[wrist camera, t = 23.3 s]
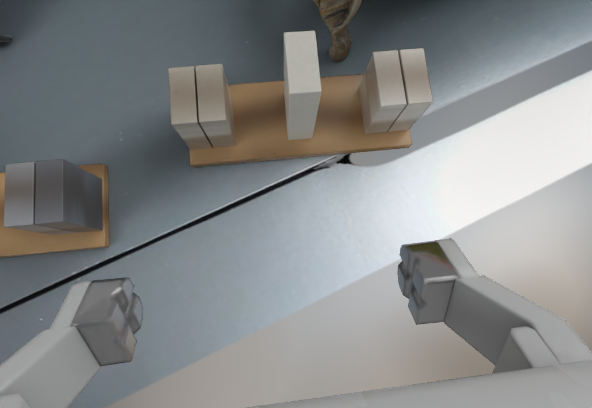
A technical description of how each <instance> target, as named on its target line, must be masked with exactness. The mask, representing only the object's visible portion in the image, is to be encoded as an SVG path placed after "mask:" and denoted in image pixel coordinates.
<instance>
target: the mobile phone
mask: <svg viewBox="0 0 592 408" xmlns="http://www.w3.org/2000/svg"><path fill="white" fill-rule="evenodd" d="M0 42H12V37H11V36H8V35H0Z"/></svg>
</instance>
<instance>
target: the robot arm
mask: <svg viewBox="0 0 592 408" xmlns="http://www.w3.org/2000/svg"><path fill="white" fill-rule="evenodd" d="M400 256H401V258H402V262H401V263H400V264H399V265H398V282H399V286H400V289H401V291H402V294H403V295H404V296H405V297H407V298H408V299H409V304H408V307H409V310H410V312H411V314H412V316H413V318H414V321H415V323H416V325H417V324H427V323H437V322H444V323H445V324H446V325H447V326H448V327H449V328H451V329H452V330H453V331H455V333H457V334H458V335H459V336H460V337H462V338H463V339H464V340H465V341H466V342H468V343H469V344H470V345H471V346H472V347H474V348H475V349H476V350H477V351H479V352H480V353H481V354H482V355H483V356H484V357H486V358H487V359H488V360H489V361H490V362H492V363H493V364H494V365H495V368H494V371H493V373H492V374H486V375H479V376H471V377H465V378H457V379H450V380H443V381H436V382H428V383H420V384H413V385H406V386H399V387H392V388H384V389H377V390H370V391H363V392H356V393H348V394H341V395H334V396H327V397H320V398H313V399H305V400H299V401H291V402H284V403H276V404H269V405H262V406H255V407H247V408H592V351H591V350H590V349H589V348H588V346H587V345H586V344H585V343H584V342H583V341H582V339H581V338H580V337H579V336H578V334H577V333H576V332H575V331H574V330H573V328H572V327H571V326H570V325H569V324H568V323H567V321H566V320H564V319H563V318H561V317H559V316H557V315H555V314H553V313H552V312H550V311H548V310H546V309H544V308H542V307H541V306H539V305H537V304H535V303H533V302H531V301H530V300H528V299H526V298H524V297H522V296H520V295H518V294H517V293H515V292H513V291H511V290H509V289H507V288H506V287H504V286H502V285H500V284H498V283H497V282H495V281H493V280H491V279H489V278H487V277H486V276H479V275H478V274H477V273H476V271H475V270H474V268H473V267H472V265H471V264H470V263H469V261H468V260H467V258H466V257H465V256H464V254H463V253H462V252H461V250H460V248H459V247H458V245H457V244H456V243H455V241H454V240H452V239H451V238H450V239H443V240H435V241H428V242H420V243H412V244H405V245H402V246H401V249H400ZM133 289H134V284H133V282H132V280H131V278H127V277H126V278H116V279H105V280H95V281H88V282H77V283H75V284H73V285H72V286H71V287H70V289H69V291H68V293H67V295H66V297H65V299H64V301H63V303H62V305H61V307H60V309H59V311H58V313H57V315H56V317H55V319H54V321H53V323H52V325H51V326H50V328H49V329H47V330H43V331H42V332H40V333H39V334H38V335H37V336H35V337H34V338H33V339H32V340H30V341H29V342H28V343H27V344H25V345H24V346H23V347H22V348H21V349H19V350H18V351H17V352H16V353H14V354H13V355H12V356H11V357H9V358H8V359H7V360H6V361H4V362H3V363H2V364H1V365H0V408H68V407H69V406H70V405H71V403H72V402H73V401H74V400H75V399H76V397H77V396H78V395H79V394H80V393H81V391H82V390H83V389H84V388H85V387H86V385H87V384H88V383H89V382H90V381H91V379H92V378H93V377H94V376H95V375H96V373H97V372H98V371H99V370H100V369H101V367H100V366H106V365H112V364H118V363H125V362H131V361H132V357H133V354H134V350H135V346H136V343H137V340H136V338H135V336H134V334H135V333H136V332H137V331H138V330H139V329H140V328H141V324H142V320H143V307H142V302H141V300H140V297H139V296H137V295H136V294H134V293H133Z"/></svg>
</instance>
